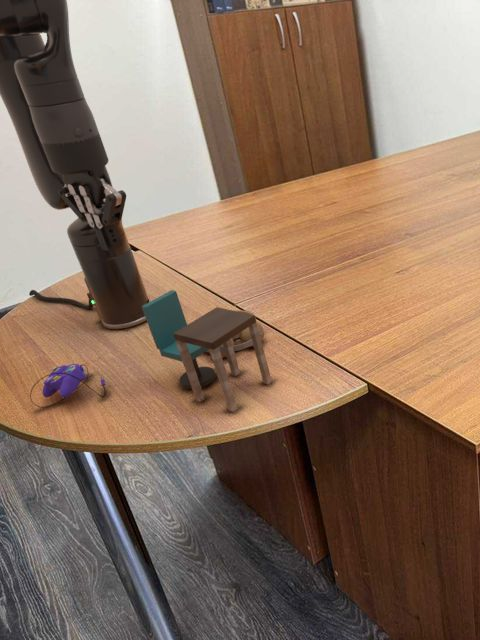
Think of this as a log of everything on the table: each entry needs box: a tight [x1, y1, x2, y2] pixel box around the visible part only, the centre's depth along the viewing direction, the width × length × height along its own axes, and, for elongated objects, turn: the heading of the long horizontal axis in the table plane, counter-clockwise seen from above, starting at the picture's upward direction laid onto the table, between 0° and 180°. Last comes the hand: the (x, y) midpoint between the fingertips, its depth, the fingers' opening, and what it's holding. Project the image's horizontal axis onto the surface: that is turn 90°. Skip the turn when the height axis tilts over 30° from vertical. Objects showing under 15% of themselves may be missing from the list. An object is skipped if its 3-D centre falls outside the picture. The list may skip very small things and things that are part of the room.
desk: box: [173, 306, 273, 413], centre depth 102 cm, size 8×9×12 cm
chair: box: [142, 289, 217, 390], centre depth 105 cm, size 6×6×15 cm
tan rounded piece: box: [205, 309, 265, 359], centre depth 118 cm, size 11×5×15 cm
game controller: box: [30, 363, 106, 409], centre depth 105 cm, size 10×8×10 cm
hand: (111, 248), depth 101 cm, fingers closed
